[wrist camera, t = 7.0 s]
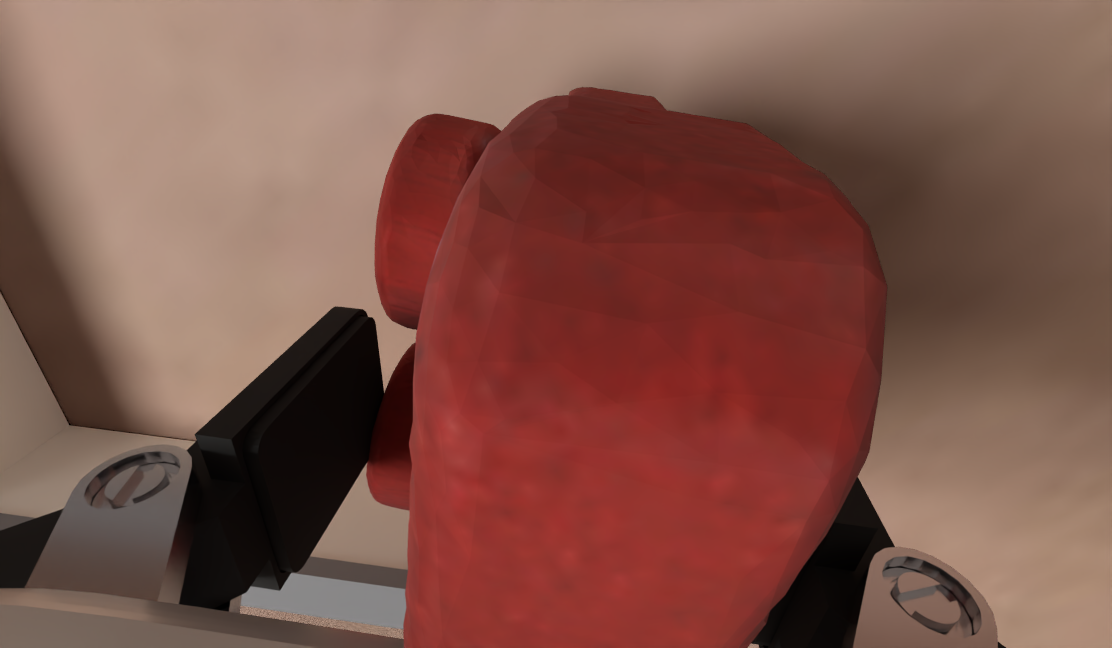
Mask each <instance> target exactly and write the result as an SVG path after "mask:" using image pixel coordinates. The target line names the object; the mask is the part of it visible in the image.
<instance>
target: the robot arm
mask: <svg viewBox="0 0 1112 648" xmlns="http://www.w3.org/2000/svg"><path fill="white" fill-rule="evenodd" d="M383 395H384V389H383V381H382V372H381V364H380V356H379V348H378V340H377V332H376V324H375V321H374V319H373V318H372V317H368V315H367V313H366V311H364V310H363V309H354V308H346V307H334V308H332V309H331V310H330V311H329V312H328V313H327V314H326V315H325V316H323V317H322V318H321V319H320V320H319V321H318V322H317V323H316V324H315V325H314V326H313V327H311V328H310V329H309V330H308V331H307V332H306V333H305V334H304V335H303V336H302V337H301V338H299V339H298V340H297V341H296V342H295V343H294V344H293V345H292V346H291V347H290V348H289V349H287V350H286V351H285V352H284V353H283V354H282V355H281V356H280V357H279V358H278V359H277V360H275V361H274V362H273V363H272V364H271V365H270V366H269V367H268V368H267V369H266V370H265V371H263V372H262V373H261V374H260V375H259V376H258V377H257V378H256V379H255V380H254V381H253V382H251V383H250V384H249V385H248V386H247V387H246V388H245V389H244V390H243V391H242V392H241V393H239V394H238V395H237V396H236V397H235V398H234V399H233V400H232V401H231V402H230V403H229V404H227V405H226V406H225V407H224V408H223V409H222V410H221V411H220V412H219V413H218V414H217V415H215V416H214V417H213V418H212V419H211V420H210V421H209V422H208V423H207V424H206V425H205V426H203V427H202V428H201V429H200V430H199V431H198V432H197V433H196V434H195V436H196V439H197V441H196V442H195V443H194V444H193V445H192V446H191V447H189V448H188V449H187V450H185V449H182V448H180V447H178V446H173V445H164V444H162V445H152V446H145V447H141V448H137V449H133V450H129V451H127V452H124V453H122V454H119V455H117V456H115V457H112V458H110V459H108V460H107V461H105V462H103V463H102V464H100V465H98V466H97V467H95V468H94V469H92V470H91V471H90V472H89V473H88V474H86V475H85V476H84V477H83V478H82V479H81V480H80V481H79V483H78V484H77V485H76V487H75V488H74V489H73V491H72V493H71V495H70V497H69V499H68V501H67V503H66V505H65V507H64V508H63V509H61V510H58V511H55V512H52V513H49V514H46V515H43V516H40V517H38V518H35V519H32V520H29V521H26V522H23V523H20V524H18V525H15V526H12V527H9V528H6V529H3V530H0V648H404V639H398V638H392V637H386V636H380V635H374V634H367V633H361V632H355V631H348V630H342V629H336V628H329V627H323V626H316V625H310V624H304V623H297V622H291V621H284V620H278V619H272V618H265V617H259V616H252V615H246V614H240V606H241V597H242V594H244V593H246V592H247V591H248V590H249V588H250V587H251V586H252V587H259V588H265V589H271V590H278V591H280V590H281V589H282V587H283V585H284V584H285V582H286V581H287V579H288V577H289V576H290V574H291V573H292V572H294V573H296V572H299V571H300V570H301V569H302V568H303V566H304V565H305V563H306V562H307V560H308V558H309V557H310V555H311V553H312V552H313V550H314V549H315V547H316V545H317V544H318V542H319V540H320V539H321V537H322V535H323V534H324V532H325V531H326V529H327V527H328V526H329V524H330V522H331V521H332V519H333V517H334V516H335V514H336V512H337V511H338V509H339V508H340V506H341V504H342V503H343V501H344V499H345V498H346V496H347V494H348V493H349V491H350V490H351V488H352V486H353V485H354V483H355V481H356V480H357V478H358V476H359V475H360V473H361V472H362V470H363V468H364V467H365V465H366V463H367V462H368V460H369V453H370V444H371V438H372V432H373V428H374V425H375V422H376V418H377V414H378V411H379V408H380V405H381V402H382V399H383ZM751 643H752V644H758V645H759V648H1006V647H1004V646H1003V645H1002V644H1000V643H999V642H998V639H997V626H996V622H995V618H994V614H993V612H992V610H991V608H990V607H989V605H988V603H987V602H986V600H985V598H984V597H983V596H982V594H981V593H980V592H979V591H978V590H977V589H976V588H975V587H974V586H973V585H972V584H971V582H970V581H969V580H967V579H966V578H965V577H964V576H962V575H961V574H960V573H959V572H957V571H956V570H955V569H954V568H952V567H951V566H949V565H947V564H946V563H944V562H942V561H940V560H939V559H937V558H935V557H933V556H931V555H928V554H926V553H923V552H920V551H918V550H915V549H909V548H903V547H895V546H894V544H893V542H892V541H891V539H890V537H889V535H888V533H887V531H886V529H885V527H884V526H883V524H882V522H881V520H880V518H879V516H878V514H877V512H876V511H875V509H874V507H873V505H872V503H871V501H870V499H869V497H868V496H867V494H866V492H865V490H864V488H863V486H862V484H861V482H860V481H859V479H858V477H857V478H856V480H855V482H854V484H853V486H852V488H851V490H850V492H849V494H848V496H847V498H846V500H845V502H844V503H843V505H842V507H841V509H840V511H839V513H838V515H837V517H836V518H835V520H834V522H833V524H832V525H831V527H830V529H829V531H828V533H827V534H826V536H825V537H824V539H823V540H822V541H821V543H820V544H819V545H818V547H817V548H816V550H815V551H814V552H813V554H812V555H811V556H810V558H809V559H808V561H807V562H806V563H805V565H804V566H803V567H802V569H801V570H800V572H799V573H798V575H797V577H796V578H795V580H794V582H793V583H792V585H791V586H790V588H789V590H788V591H787V593H786V595H785V596H784V597H783V598H782V599H781V600H780V601H779V602H778V603H777V604H776V605H775V606H774V607H773V608H772V609H771V610H770V612H769V615H768V619H767V623H766V625H765V626H764V627H763V628H762V630H761V631H760V632H759V634H758V635H757V636H756V637H755V639H754V640H753V641H752V642H751Z"/></svg>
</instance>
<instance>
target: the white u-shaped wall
mask: <svg viewBox="0 0 1112 648" xmlns="http://www.w3.org/2000/svg"><path fill="white" fill-rule="evenodd" d="M195 442H196V441H188V440H180V439H172V438H165V437H157V436H149V435H141V434H133V433H126V432H118V431H110V430H102V429H94V428H87V427H79V426H71V425H69V424H68V422H67V420H66V418H65V416H64V414H63V412H62V410H61V408H60V406H59V404H58V402H57V401H56V399H55V397H54V395H53V393H52V391H51V389H50V387H49V385H48V383H47V381H46V379H45V377H44V375H43V374H42V372H41V370H40V368H39V366H38V364H37V362H36V360H35V358H34V356H33V354H32V352H31V350H30V348H29V347H28V345H27V343H26V341H25V339H24V337H23V335H22V333H21V331H20V329H19V327H18V325H17V323H16V321H15V319H14V318H13V316H12V314H11V312H10V310H9V308H8V306H7V304H6V302H5V300H4V298H3V296H2V294H1V292H0V530H3V529H6V528H9V527H12V526H15V525H18V524H20V523H23V522H26V521H29V520H32V519H35V518H38V517H40V516H43V515H46V514H49V513H52V512H55V511H58V510H61V509H63V508H64V507H65V505H66V503H67V501H68V499H69V497H70V495H71V493H72V491H73V489H74V488H75V487H76V485H77V484H78V483H79V481H80V480H81V479H82V478H83V477H84V476H85V475H86V474H88V473H89V472H90V471H91V470H92V469H94V468H95V467H97V466H98V465H100V464H102V463H103V462H105V461H107V460H108V459H110V458H112V457H115V456H117V455H119V454H122V453H124V452H127V451H129V450H133V449H137V448H141V447H145V446H152V445H162V444H164V445H173V446H178V447H180V448H182V449H185V450H187V449H188V448H189V447H191V446H192V445H193V444H194V443H195ZM366 472H367V463H366V465H365V467H364V468H363V470H362V472H361V473H360V475H359V476H358V478H357V480H356V481H355V483H354V485H353V486H352V488H351V490H350V491H349V493H348V494H347V496H346V498H345V499H344V501H343V503H342V504H341V506H340V508H339V509H338V511H337V512H336V514H335V516H334V517H333V519H332V521H331V522H330V524H329V526H328V527H327V529H326V531H325V532H324V534H323V535H322V537H321V539H320V540H319V542H318V544H317V545H316V547H315V549H314V550H313V552H312V553H311V555H310V557H309V558H308V560H307V562H306V563H305V565H304V566H303V568H302V569H301V570H300V571H299V572H296V573H294V572H292V573H291V574H290V576H289V577H288V579H287V581H286V582H285V584H284V585H283V587H282V589H281V590H280V591H278V590H271V589H265V588H259V587H252V586H251V587H250V588H249V590H248V591H247V592H246V593H244V594H242V597H241V606H247V607H254V608H261V609H268V610H274V611H281V612H288V613H295V614H302V615H309V616H315V617H322V618H329V619H336V620H343V621H349V622H356V623H363V624H370V625H377V626H384V627H390V628H397V629H403V623H404V618H405V612H406V599H405V589H406V581H407V574H408V561H407V548H408V524H409V511H408V510H403V509H398V508H394V507H390V506H386V505H383V504H381V503H379V502H377V501H376V500H375V499H374V498H373V496H372V494H371V493H370V490H369V486H368V482H367V477H366Z"/></svg>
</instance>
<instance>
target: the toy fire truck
mask: <svg viewBox="0 0 1112 648" xmlns="http://www.w3.org/2000/svg"><path fill="white" fill-rule="evenodd" d="M375 277H376V283H377V288H378V293H379V296H380V300H381V304H382V306H383V308H384V310H385V312H386V314H387V316H388V317H389V318H390V319H391V320H392V321H394V322H396V323H398V324H400V325H402V326H404V327H407V328H411V329H416V330H417V333H416V343H414V344H412V345H411V347H410V348H408V350H407V351H406V352H405V354H404V355H403V357H402V358H401V360H400V361H399V363H398V365H397V367H396V368H395V370H394V372H393V374H392V376H391V378H390V381H389V383H388V386H387V388H386V390H385V393H384V395H383V399H382V402H381V405H380V408H379V411H378V414H377V418H376V422H375V425H374V428H373V432H372V438H371V444H370V453H369V460H368V462H367V472H366V477H367V482H368V486H369V490H370V493H371V494H372V496H373V498H374V499H375V500H376V501H377V502H379V503H381V504H383V505H386V506H390V507H394V508H398V509H403V510H408V511H409V524H408V548H407V561H408V574H407V581H406V589H405V599H406V612H405V618H404V623H403V631H404V648H747V647H748V646H749V645H750V644H751V642H752V641H753V640H754V639H755V637H756V636H757V635H758V634H759V632H760V631H761V630H762V628H763V627H764V626H765V625H766V623H767V619H768V615H769V612H770V610H771V609H772V608H773V607H774V606H775V605H776V604H777V603H778V602H779V601H780V600H781V599H782V598H783V597H784V596H785V595H786V593H787V591H788V590H789V588H790V586H791V585H792V583H793V582H794V580H795V578H796V577H797V575H798V573H799V572H800V570H801V569H802V567H803V566H804V565H805V563H806V562H807V561H808V559H809V558H810V556H811V555H812V554H813V552H814V551H815V550H816V548H817V547H818V545H819V544H820V543H821V541H822V540H823V539H824V537H825V536H826V534H827V533H828V531H829V529H830V527H831V525H832V524H833V522H834V520H835V518H836V517H837V515H838V513H839V511H840V509H841V507H842V505H843V503H844V502H845V500H846V498H847V496H848V494H849V492H850V490H851V488H852V486H853V484H854V482H855V480H856V478H857V476H858V475H859V473H860V471H861V469H862V467H863V465H864V463H865V461H866V458H867V456H868V453H869V450H870V444H871V438H872V432H873V426H874V420H875V414H876V408H877V401H878V395H879V389H880V383H881V374H882V359H883V344H884V329H885V314H886V299H887V284H886V281H885V278H884V274H883V271H882V268H881V265H880V261H879V258H878V255H877V252H876V248H875V245H874V242H873V239H872V236H871V232H870V229H869V226H868V224H867V223H866V222H865V221H864V220H863V218H862V217H861V216H860V215H859V213H858V212H857V211H856V210H855V208H854V207H853V206H852V204H851V203H850V201H849V200H848V198H847V197H846V196H845V195H844V194H843V193H842V192H841V191H840V190H839V189H838V188H837V187H836V186H835V185H834V184H833V183H832V182H831V181H830V180H829V178H828V177H827V176H826V175H825V174H823V173H821V172H820V171H818V170H816V169H814V168H812V167H811V166H809V165H807V164H805V163H803V162H802V161H800V160H799V159H798V158H797V157H795V156H794V155H793V154H792V153H790V152H789V151H788V150H787V149H785V148H784V147H783V146H781V145H780V144H778V143H777V142H775V141H773V140H771V139H769V138H768V137H767V136H765V135H764V134H762V133H761V132H759V131H757V130H756V129H754V128H753V127H751V126H750V125H748V124H746V123H740V122H734V121H728V120H722V119H715V118H709V117H703V116H697V115H691V114H685V113H679V112H673V111H667V110H666V109H665V108H664V107H663V106H662V105H661V104H660V103H659V102H658V101H657V100H656V99H655V98H654V97H651V96H644V95H637V94H630V93H624V92H618V91H612V90H604V89H597V88H592V87H582V88H576V89H574V90H572V91H570V93H569V95H565V96H554V97H550V98H547V99H543V100H539V101H537V102H536V103H534V104H533V105H531V106H529V107H528V108H526V109H525V110H523V111H522V112H521V113H520V114H518V115H517V116H516V117H515V118H513V119H512V120H511V122H510V123H509V125H507V126H506V127H505V128H504V129H503V130H502V131H500V130H499V129H498V128H497V127H495V126H494V125H491V124H488V123H483V122H479V121H474V120H469V119H464V118H460V117H455V116H450V115H444V114H431V115H427V116H424V117H422V118H421V119H419V120H417V121H416V122H415V123H414V124H413V125H412V126H411V127H410V128H409V129H408V131H407V132H406V134H405V135H404V137H403V139H402V140H401V142H400V144H399V146H398V148H397V150H396V152H395V154H394V157H393V159H392V162H391V165H390V167H389V170H388V172H387V175H386V179H385V183H384V187H383V191H382V195H381V199H380V204H379V210H378V215H377V223H376V236H375Z"/></svg>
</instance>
